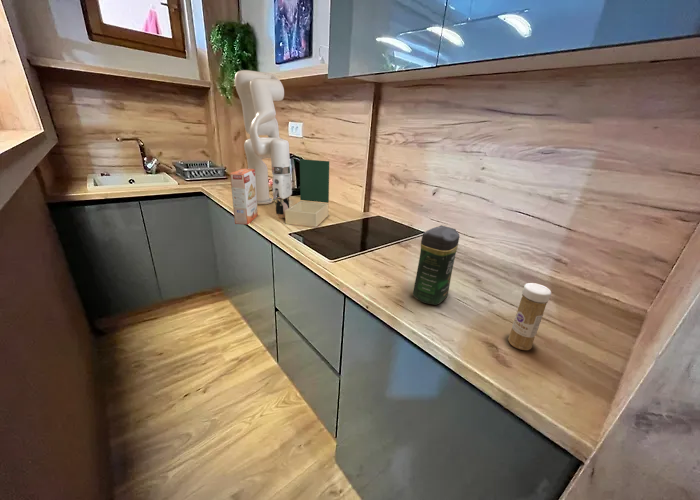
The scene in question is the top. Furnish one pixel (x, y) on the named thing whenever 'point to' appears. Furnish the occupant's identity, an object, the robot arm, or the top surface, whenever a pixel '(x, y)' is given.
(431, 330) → the top surface
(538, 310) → the sprinkles bottle
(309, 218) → the book box
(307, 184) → the book cover
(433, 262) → the coffee jar
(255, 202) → the cracker box
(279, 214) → the egg
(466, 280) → the top surface
